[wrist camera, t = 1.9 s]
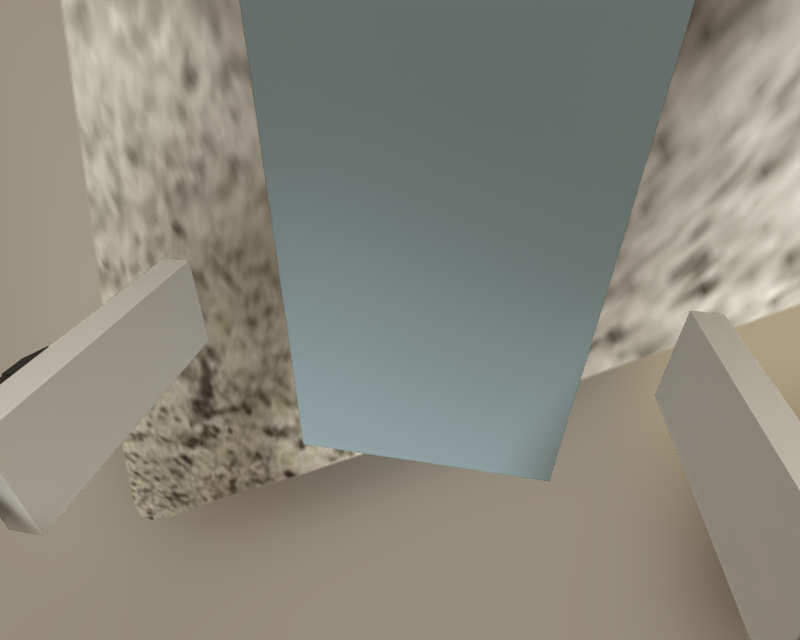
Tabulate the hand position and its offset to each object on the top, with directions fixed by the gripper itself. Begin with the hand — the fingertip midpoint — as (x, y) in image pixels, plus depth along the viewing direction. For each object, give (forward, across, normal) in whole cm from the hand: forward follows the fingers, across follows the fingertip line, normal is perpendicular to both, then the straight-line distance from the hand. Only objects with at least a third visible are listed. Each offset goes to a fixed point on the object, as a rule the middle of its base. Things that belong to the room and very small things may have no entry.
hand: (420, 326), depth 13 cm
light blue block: (+8, 0, 0) cm, 8 cm away
